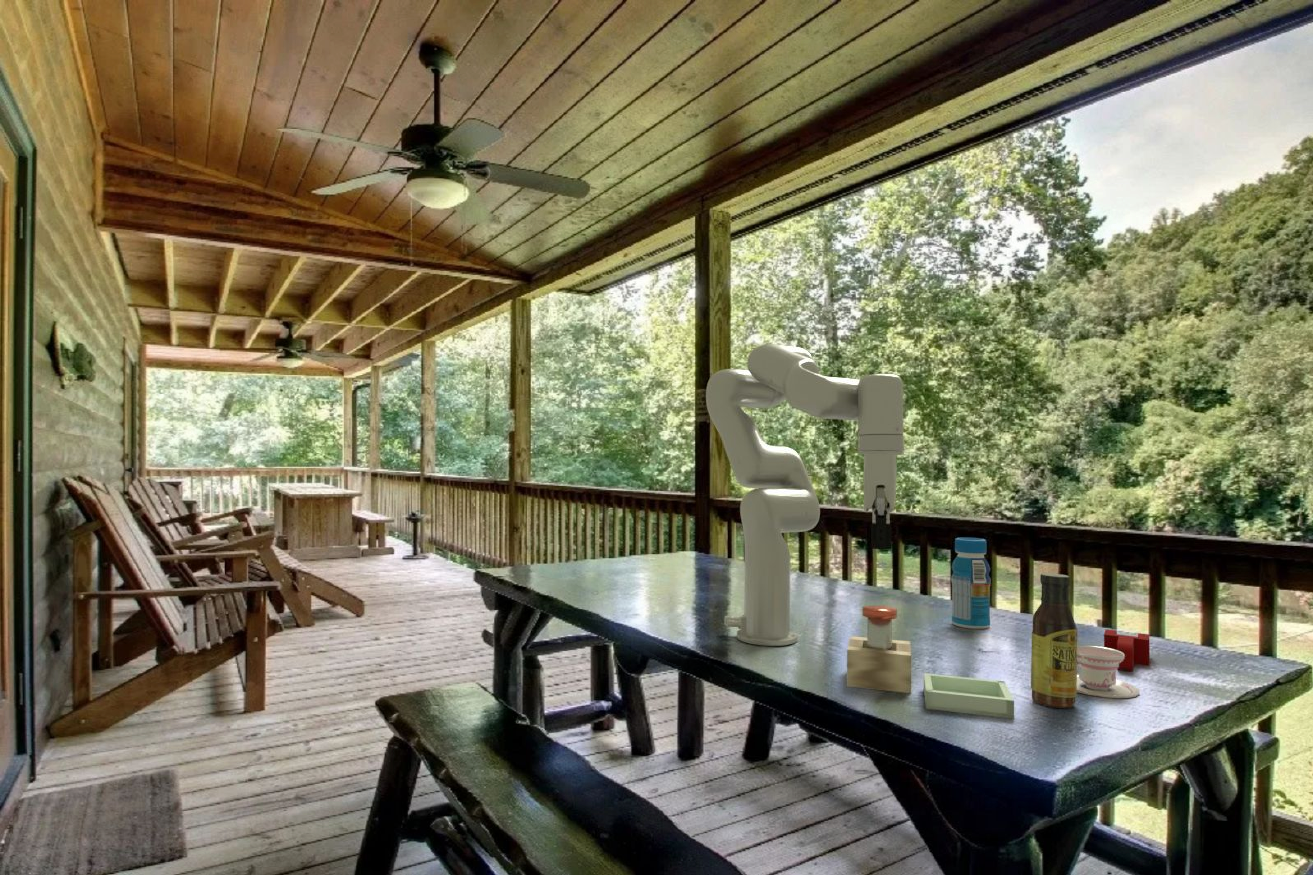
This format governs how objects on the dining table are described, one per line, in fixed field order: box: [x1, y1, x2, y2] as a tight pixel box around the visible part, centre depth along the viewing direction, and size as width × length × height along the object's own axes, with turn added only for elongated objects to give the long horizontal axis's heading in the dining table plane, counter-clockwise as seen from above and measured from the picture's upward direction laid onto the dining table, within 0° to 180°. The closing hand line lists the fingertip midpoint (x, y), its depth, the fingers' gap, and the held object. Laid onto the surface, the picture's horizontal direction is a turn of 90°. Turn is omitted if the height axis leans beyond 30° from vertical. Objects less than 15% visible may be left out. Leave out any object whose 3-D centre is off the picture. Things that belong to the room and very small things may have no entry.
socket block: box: [846, 636, 912, 694], centre depth 121 cm, size 10×10×6 cm
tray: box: [923, 673, 1015, 720], centre depth 111 cm, size 12×10×3 cm
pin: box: [862, 605, 898, 650], centre depth 122 cm, size 6×6×12 cm
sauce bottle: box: [1030, 572, 1078, 709], centre depth 112 cm, size 7×6×20 cm
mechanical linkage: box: [1103, 628, 1151, 672], centre depth 136 cm, size 16×7×5 cm, turn 145°
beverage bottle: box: [950, 537, 992, 630], centre depth 166 cm, size 8×8×20 cm
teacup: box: [1077, 645, 1140, 699], centre depth 120 cm, size 12×12×6 cm
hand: (881, 546), depth 122 cm, fingers open, 9 cm apart
